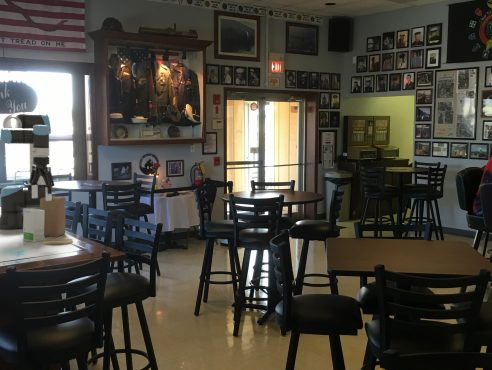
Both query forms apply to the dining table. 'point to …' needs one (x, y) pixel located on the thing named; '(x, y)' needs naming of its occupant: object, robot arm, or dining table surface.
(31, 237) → the skincare box
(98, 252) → the dining table surface
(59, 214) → the wooden block
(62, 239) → the cork trivet
